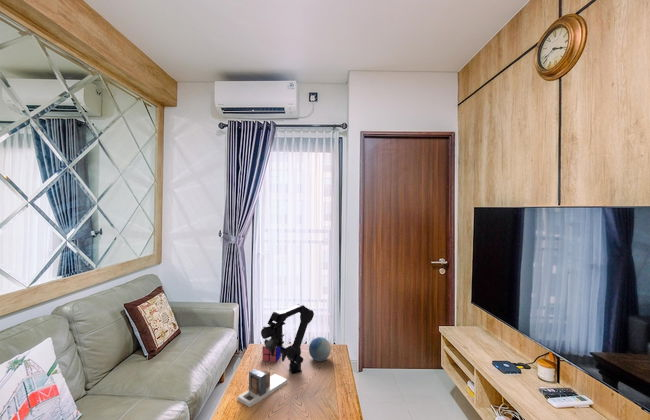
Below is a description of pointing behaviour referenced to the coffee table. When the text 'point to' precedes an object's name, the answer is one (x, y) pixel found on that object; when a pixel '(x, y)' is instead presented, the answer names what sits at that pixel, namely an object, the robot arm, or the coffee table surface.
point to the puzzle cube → (267, 354)
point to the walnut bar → (256, 383)
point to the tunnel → (262, 380)
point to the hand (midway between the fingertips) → (277, 358)
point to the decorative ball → (319, 349)
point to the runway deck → (251, 398)
